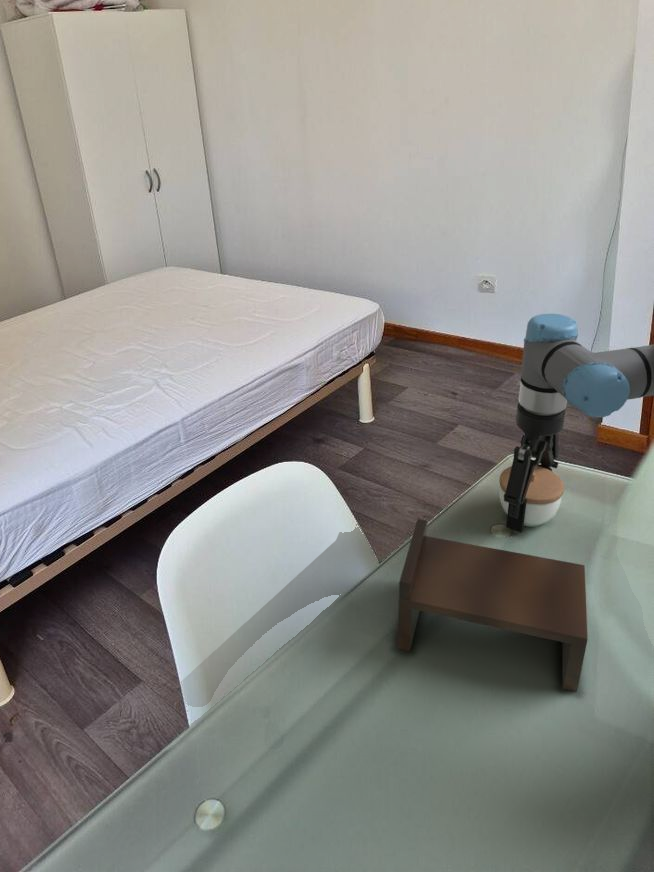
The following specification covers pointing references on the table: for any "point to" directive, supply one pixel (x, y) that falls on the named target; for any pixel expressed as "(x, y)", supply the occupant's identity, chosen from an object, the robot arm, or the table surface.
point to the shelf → (495, 594)
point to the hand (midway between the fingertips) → (527, 512)
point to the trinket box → (537, 495)
